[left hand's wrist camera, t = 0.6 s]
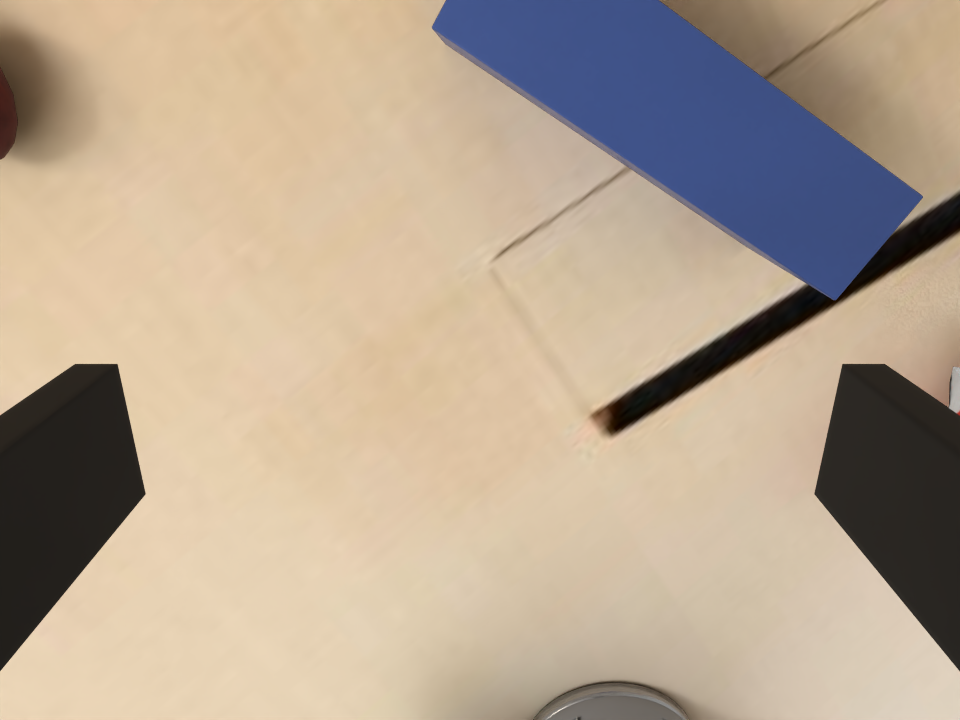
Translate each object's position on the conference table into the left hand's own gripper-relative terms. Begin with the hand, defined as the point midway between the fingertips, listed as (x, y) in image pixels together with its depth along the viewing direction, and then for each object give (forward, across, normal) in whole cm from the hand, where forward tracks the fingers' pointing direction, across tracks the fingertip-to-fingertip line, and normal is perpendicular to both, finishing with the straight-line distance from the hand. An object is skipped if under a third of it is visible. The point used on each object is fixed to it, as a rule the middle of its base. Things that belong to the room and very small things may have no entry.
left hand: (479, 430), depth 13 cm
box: (+32, -9, -5) cm, 34 cm away
